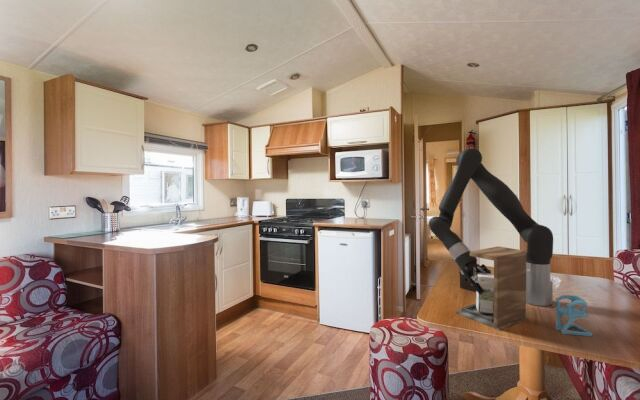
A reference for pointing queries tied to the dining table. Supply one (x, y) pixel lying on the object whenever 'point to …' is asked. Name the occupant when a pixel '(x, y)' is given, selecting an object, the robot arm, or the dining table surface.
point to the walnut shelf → (503, 288)
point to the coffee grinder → (464, 285)
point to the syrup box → (485, 293)
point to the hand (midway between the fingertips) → (488, 290)
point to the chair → (571, 315)
